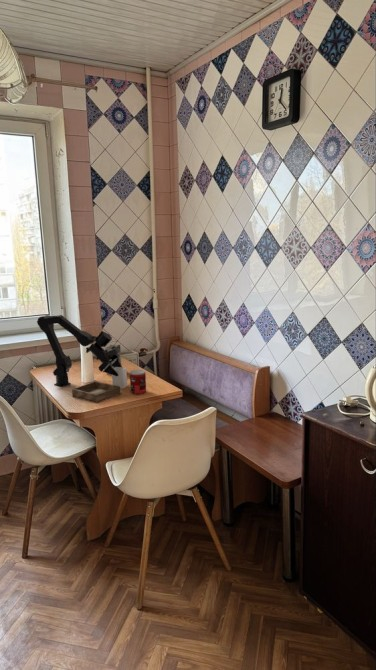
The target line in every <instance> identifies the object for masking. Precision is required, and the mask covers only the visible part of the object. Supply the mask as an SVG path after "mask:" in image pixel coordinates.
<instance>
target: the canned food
mask: <svg viewBox="0 0 376 670" xmlns="http://www.w3.org/2000/svg"><path fill="white" fill-rule="evenodd" d="M146 378H147V377H146V370H145V369H144V370H143V369H133V370H131V371H129V383H130V384H129V385H130V393H131V394H132V395H144V394H146V393H147V379H146Z"/></svg>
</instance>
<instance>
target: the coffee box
mask: <svg viewBox="0 0 376 670" xmlns="http://www.w3.org/2000/svg"><path fill="white" fill-rule="evenodd" d="M113 346H116V347H117V348H119V349H118V350H119V353H118V354H119V355H120V356H119V357H120V359H119V361H120V364H121V365H122V355H121V354H122V353H121V352H122V351H121V344H110V345H108V346H107V347H106V346H105V347H104V348H105V349H104V350H108V351H109V350H111V349H112V347H113ZM119 357H118V358H119ZM112 367H113V366H112ZM114 368H115V367H113V369H114ZM106 375H109V376H112V374H109V373H106Z"/></svg>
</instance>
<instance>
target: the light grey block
mask: <svg viewBox="0 0 376 670" xmlns="http://www.w3.org/2000/svg"><path fill="white" fill-rule="evenodd" d="M114 370H115V371H116V372H117V373H118V376H115V375H111V381H112V385H115V386H120V390H121V389H125V388H126V387H127V386H128V377H127V376H128V375H127V373H128V372H127V366H125V367H124V366H122V367H115V368H114Z"/></svg>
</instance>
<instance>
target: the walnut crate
mask: <svg viewBox="0 0 376 670" xmlns="http://www.w3.org/2000/svg"><path fill="white" fill-rule="evenodd" d="M120 395H121V389H120V386H115V385H113V384H110V383H107V382H101V381H97V380H94V381H92V382H89V383H85V384H83V385H80V386H77V387H73V388H71V396H72V398H76V399H80V400H84V401H88V402H90V403H91V402H92V403H95V404H98V403H101V402H105V401H106V400H109V399H111V398H114V397H117V396H120Z"/></svg>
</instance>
